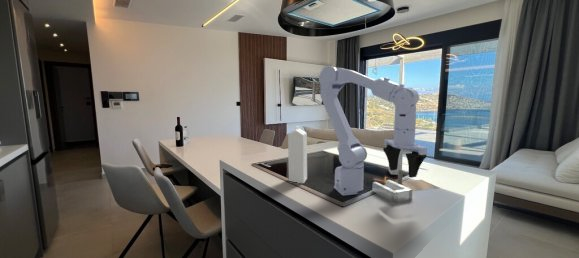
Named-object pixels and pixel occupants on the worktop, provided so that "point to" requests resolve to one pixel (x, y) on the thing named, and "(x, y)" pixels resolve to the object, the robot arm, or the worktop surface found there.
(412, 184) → the stand
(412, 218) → the worktop surface
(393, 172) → the skincare box
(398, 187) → the c link
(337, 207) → the worktop surface
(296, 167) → the milk
